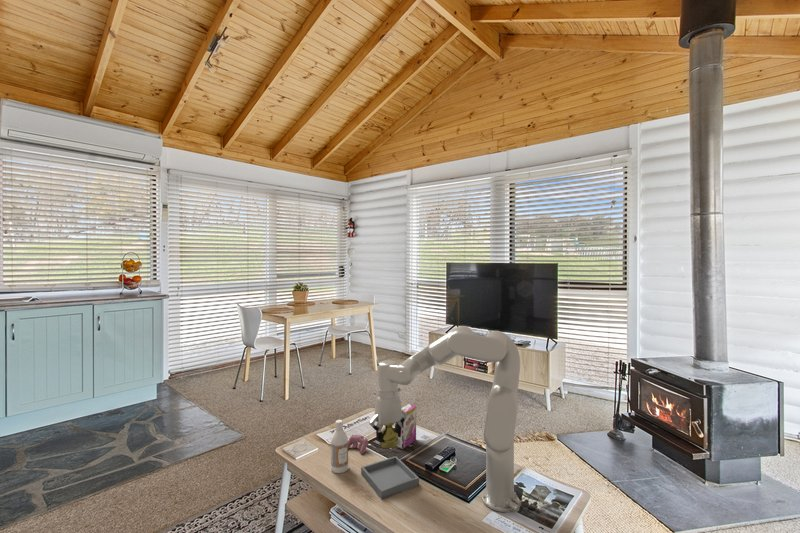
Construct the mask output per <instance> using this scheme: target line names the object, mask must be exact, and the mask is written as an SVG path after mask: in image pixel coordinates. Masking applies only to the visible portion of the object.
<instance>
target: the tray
mask: <svg viewBox="0 0 800 533" xmlns="http://www.w3.org/2000/svg"><path fill="white" fill-rule="evenodd" d="M360 474H361V477H363V479H364V480H365V481H366V483H368V485H369V486H370V487H371V488H372V490H373V491H374V492H375V493H376V494H377V496H378V497H379V498H380V500H384V499H387V498H390V497H392V496H394V495H397V494H401V493H402V492H406V491H408V490H410V489H414V488H417V487H419V486H420V477H419V476H418V475H417V474H415V472H414V471H413V470H412V469H410V468H409V467H408V466H407V465H406V464H405V463H404V461H402V460H401V459H400V458H398V456H396V455H395V456H391V457H389V458H385V459H381V460H379V461H376V462H373V463H369V464H366V465H363V466H361V467H360Z"/></svg>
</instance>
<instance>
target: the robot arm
mask: <svg viewBox="0 0 800 533" xmlns="http://www.w3.org/2000/svg"><path fill="white" fill-rule="evenodd" d="M457 356H459V357H463V358H467V359H471V360H477V361H482V362H486V363H492V364H493V363H494V372H493V380H492V381H493V382H492V386H491V390H490V393H489V396H488V401H487V404H486V405H487V406H486V414H485V422H484V429H483V439H484V440H483V441H484V443H485V454H486V455H485V471H486V472H485V473H486V474H485V475H486V477H485V481H486V482H485V483H486V484H485V487H486V488H485V489H484V490H483V491H482V493H481V499H482V502H483V504H484V505H486V507H488V508H489V509H491V510H493V511H496V512H501V513H508V512H512V511H515V512H516V513H517V512H519V510H520V507H521V506H522V502H521V501H520V500H519V497H518V495H517V492H516V491H515V430H516V425H517V424H516V423H517V418H518V417H517V416H518V410H519V408H518V407H519V401H518V400H519V398H518V397H519V396H518V395H519V394H518V392H519V382H520V374H521V373H520V372H521V355H520V353H519V350H518V347H517V345H516V343H515V342H514V340H513V339H512V338H511V337H510V336H509V335H508V334H506V333H505V332H503V331H500V330H492V331H489V332H488V333H487V334H486V335H481V334H475V333H474V331H473V330H472V329H471V328H470V327H468V326H467V325H460V326H457V327H455V328H453V329H451V331H449V332H447V333H445V334H444V335H442V336H441V337H439V338H438V339H436V340H434V341H432V342H431V343H430V344H428V345H427V346H426V347H424V348H423V349H420V350H419V351H417V352H416V353H415V354H412V355H411V356H409V357H408V358H406V360H404V361H402V362H401V363H400V364H398V363H397V361H395V360H390V359H389V360H382V361H380V362H379V363H378V367H377V368H378V369H377V370H378V371H377V373H378V374H377V376H378V380H377V381H378V382H377V383H378V396H376V399H375V405H374V415H373V417H372V418H371V419H370V421H369V422H368V424H369V426H370V427H371V428H373V429H374V430H375V438H376V440H377V441H378V442H379V444H380V443H381V442H382V432H381V431H382V430H383V427H384V426H385V425H386V424H389V423H393V422H396V424H395V423H394V429H395V430H397V432H398V437H401V426H402V424H403V422H404V421H405V418H406V417H407V413H405V412H404V411H402V409H401V408H402V402H401V398H400V395H399V393H400V392H401V391H402V390H401V388H400V387H399V385H400V386H401V385H402V386H408V385H410V384H412V383H413V381H414V380H415V379H417V377H418V376H419V375H420V374H422V373H423V372H425V371H426V370H428V369H430V368H431V367H433V366H435V365H436V366H437V365H440V366H441V365H444V364H445V363H447V362H449V361H450V360H452V359H453V358H455V357H457ZM375 423H376V424H375Z"/></svg>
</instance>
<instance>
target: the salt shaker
mask: <svg viewBox="0 0 800 533" xmlns="http://www.w3.org/2000/svg"><path fill="white" fill-rule="evenodd" d="M394 425H395V422H393V423H389V424H386V425H384V428H382V430H381V432H382V442H381V443H380V442H379V446H380V447H381V448H382V449H393V448H397V447H396V446H397V445H398V432H397V430H395V427H393V426H394Z"/></svg>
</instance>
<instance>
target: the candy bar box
mask: <svg viewBox="0 0 800 533" xmlns="http://www.w3.org/2000/svg"><path fill="white" fill-rule="evenodd" d="M401 409H402V411H404V412H405V413H407V417H406V418H405V421H404V422H403V424H402V426H401V437H398V445H397V446H396V447H395V448H397V449H398V448H399V449H400V450H404V449H405V448H407V447H408V446H410V445H411V444H412V443H414V442H416V441H417V406H416V405H413V404H406V405H405V406H404V405H403V407H402V406H401ZM395 424H396V422H395V423H394V425H395Z"/></svg>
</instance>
